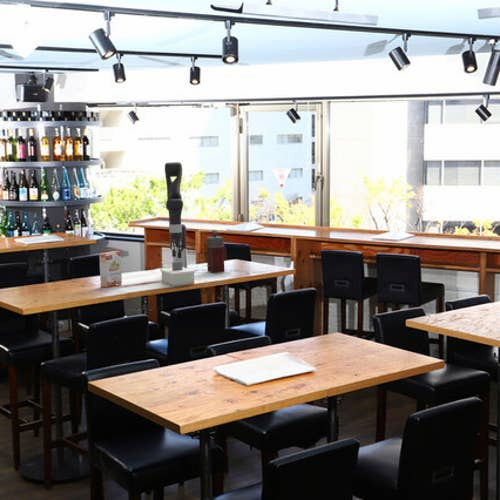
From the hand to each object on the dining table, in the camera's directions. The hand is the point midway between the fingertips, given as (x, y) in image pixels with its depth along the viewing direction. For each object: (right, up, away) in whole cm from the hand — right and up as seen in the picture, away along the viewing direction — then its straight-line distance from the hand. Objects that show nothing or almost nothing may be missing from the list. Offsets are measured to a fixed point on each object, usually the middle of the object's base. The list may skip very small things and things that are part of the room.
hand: (176, 257), depth 527 cm
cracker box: (-41, -18, +1) cm, 44 cm away
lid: (0, -9, +1) cm, 9 cm away
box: (+1, -16, +2) cm, 16 cm away
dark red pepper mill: (+24, -10, +43) cm, 50 cm away
